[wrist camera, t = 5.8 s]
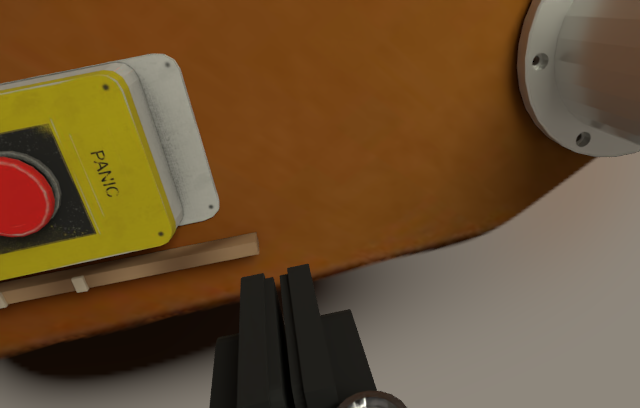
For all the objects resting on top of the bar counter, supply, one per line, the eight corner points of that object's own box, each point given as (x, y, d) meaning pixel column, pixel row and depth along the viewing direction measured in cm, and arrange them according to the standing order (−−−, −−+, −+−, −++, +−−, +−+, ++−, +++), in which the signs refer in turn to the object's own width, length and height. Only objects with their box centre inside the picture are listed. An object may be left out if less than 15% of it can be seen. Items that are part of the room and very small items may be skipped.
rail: (255, 231, 27) (255, 243, 26) (259, 244, 28) (259, 256, 26) (-93, 300, 26) (-110, 315, 25) (-85, 312, 27) (-102, 328, 25)
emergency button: (-210, 131, 19) (160, 58, 19) (-129, 108, 23) (176, 47, 23) (-86, 314, 22) (219, 248, 23) (-34, 267, 26) (224, 211, 27)
